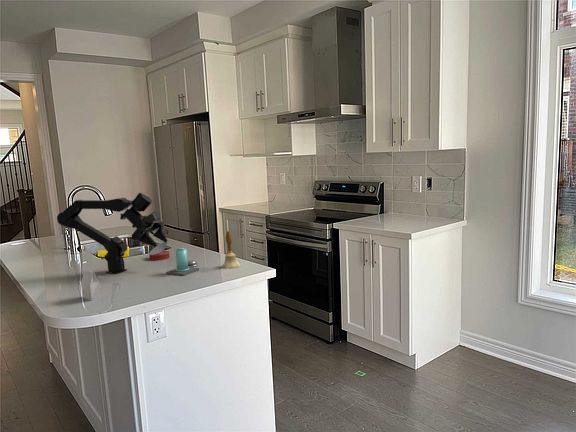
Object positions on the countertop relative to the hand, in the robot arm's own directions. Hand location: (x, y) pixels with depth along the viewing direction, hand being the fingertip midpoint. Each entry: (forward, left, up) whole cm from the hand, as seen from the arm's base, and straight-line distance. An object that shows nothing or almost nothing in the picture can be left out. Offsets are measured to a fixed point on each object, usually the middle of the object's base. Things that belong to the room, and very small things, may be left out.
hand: (161, 243), depth 195 cm
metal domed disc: (+11, -6, -12) cm, 18 cm away
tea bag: (-39, -2, -13) cm, 41 cm away
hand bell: (+16, -25, -13) cm, 32 cm away
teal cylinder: (+1, -10, -11) cm, 15 cm away
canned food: (+19, +21, -13) cm, 32 cm away
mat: (+1, -10, -12) cm, 16 cm away
